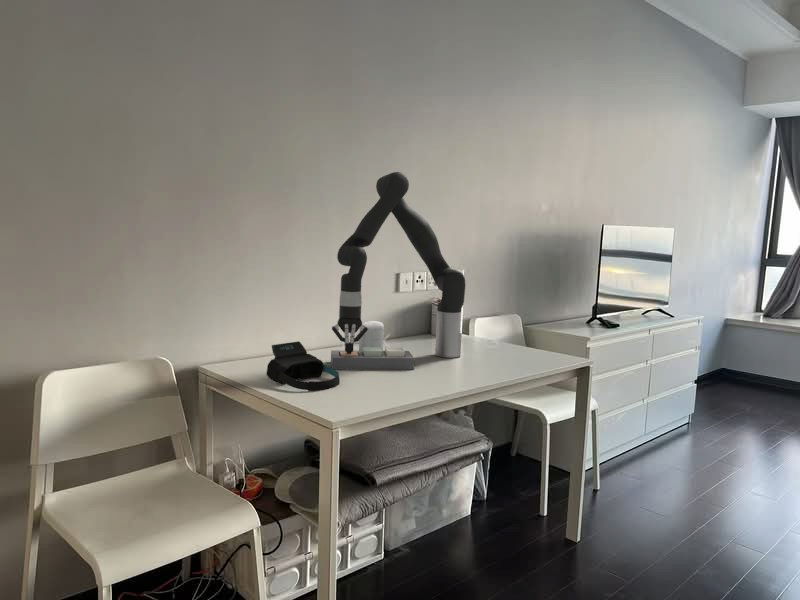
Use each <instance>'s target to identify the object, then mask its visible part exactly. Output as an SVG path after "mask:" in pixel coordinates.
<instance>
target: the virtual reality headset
mask: <svg viewBox="0 0 800 600" xmlns="http://www.w3.org/2000/svg"><path fill="white" fill-rule="evenodd" d="M271 350H272V354H273V356H274V358H273V359H270V360H269V362H268V364H267V368H266V376H267V378H268V379H269V380H271V381H273V382H275V383H276V384H279V385H282V386H285V385H287V386H290V387H292V388H294V389H298V390H304V391H308V392H320V390H321V391H325V390H329V389H330V388H331V389H333V388H336V387H338V386H339V385H340V383H341V381H340V380H341V379H340V375H339V372H338V371H337V369H332V367H330V366H328V365H325V364H324V362H323V360H321V359H320V358H317V356H314V355H312V354H311V353H307V350H306V348H305V346H304V345H303V344H302V343H301V342H300V340H298V341H291V342H285V343H277V344H271ZM323 373H326V374H329V375H331V377H333V378H331V379H327V380H320V381H318V380H317V381H315V380H312V379H317V378H321V376H322V375H323ZM309 379H311V381H310V380H309ZM303 380H308V381H303ZM331 389H330V390H331Z"/></svg>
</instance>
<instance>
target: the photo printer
mask: <svg viewBox="0 0 800 600" xmlns="http://www.w3.org/2000/svg"><path fill="white" fill-rule="evenodd" d="M362 324H363V325H364V326H366V327H367V328H368V330H367V331H366V333H365V334H364V335H363V336H362V337H361V339H360V340H359V341H358V344H359V345H358V351H363V347H377V348H380V349H381V351H384V335H385V334H384V333H385V329H384V328H385V325H384V323H383V322H381V321H378V320H369V321H366V322H364V323H363V322H362ZM360 328H361V327H360ZM360 328H359V332H360V331H361V330H360Z"/></svg>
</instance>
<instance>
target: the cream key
mask: <svg viewBox="0 0 800 600" xmlns="http://www.w3.org/2000/svg"><path fill="white" fill-rule="evenodd" d="M384 351H385V356H388V357H404V354H405V351H406V350H404V348H403V347H385V348H384Z"/></svg>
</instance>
